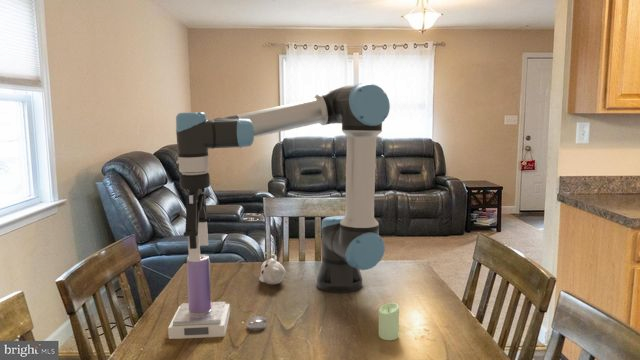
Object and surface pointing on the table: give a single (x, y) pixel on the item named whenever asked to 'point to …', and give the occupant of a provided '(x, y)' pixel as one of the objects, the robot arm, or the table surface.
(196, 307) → the beverage can
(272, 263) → the cat figurine
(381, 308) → the candle
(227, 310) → the base
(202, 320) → the pan
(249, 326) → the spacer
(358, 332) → the table surface
